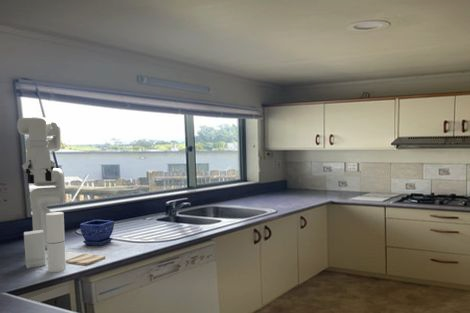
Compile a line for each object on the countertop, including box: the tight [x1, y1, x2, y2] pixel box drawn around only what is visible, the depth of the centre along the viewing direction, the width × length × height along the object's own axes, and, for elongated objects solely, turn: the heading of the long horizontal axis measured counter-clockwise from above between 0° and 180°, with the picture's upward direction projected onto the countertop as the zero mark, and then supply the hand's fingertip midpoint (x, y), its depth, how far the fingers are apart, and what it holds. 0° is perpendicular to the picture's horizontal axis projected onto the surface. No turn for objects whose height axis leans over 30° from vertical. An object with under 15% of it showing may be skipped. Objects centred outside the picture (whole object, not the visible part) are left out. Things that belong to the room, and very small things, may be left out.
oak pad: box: [66, 253, 106, 266], centre depth 194 cm, size 12×12×1 cm
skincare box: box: [23, 230, 47, 269], centre depth 188 cm, size 8×7×16 cm
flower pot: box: [79, 219, 115, 247], centre depth 225 cm, size 13×13×12 cm
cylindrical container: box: [46, 211, 67, 273], centre depth 181 cm, size 7×7×25 cm
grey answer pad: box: [46, 250, 85, 263], centre depth 199 cm, size 12×12×1 cm
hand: (40, 182), depth 187 cm, fingers open, 9 cm apart
